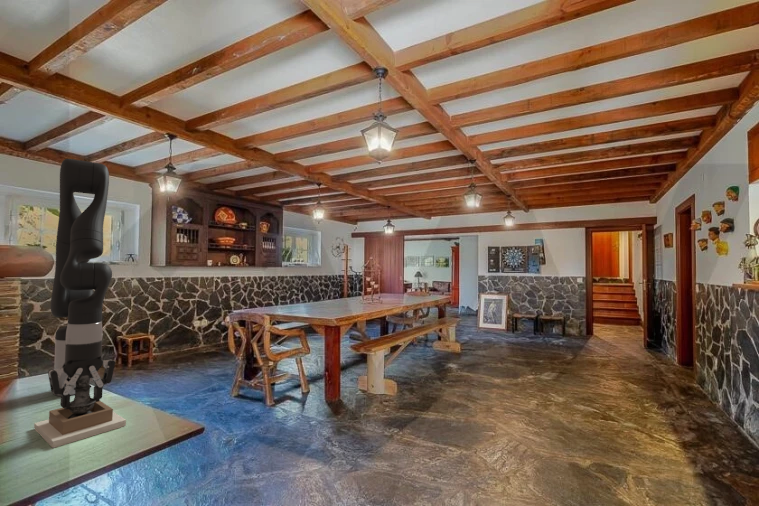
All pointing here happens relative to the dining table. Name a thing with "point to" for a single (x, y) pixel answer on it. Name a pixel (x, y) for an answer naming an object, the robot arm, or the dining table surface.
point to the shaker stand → (78, 424)
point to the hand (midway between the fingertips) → (81, 404)
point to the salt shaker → (82, 398)
